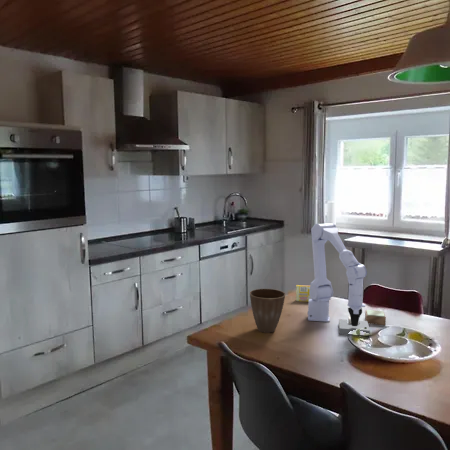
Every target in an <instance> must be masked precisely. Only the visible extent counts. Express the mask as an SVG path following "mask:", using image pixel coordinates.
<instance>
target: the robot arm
mask: <svg viewBox="0 0 450 450" xmlns="http://www.w3.org/2000/svg"><path fill="white" fill-rule="evenodd" d="M310 231H311V233H310V234H311V244H312V245H311V247H312V259H313V271H314V272H313V274H314V279H313V280H312V281H311V282H310V283H309V286H310V290H309V294H310V297H311V298H312V299H309V301H308V303H307V304H308V310H307V321H315V322H325V323H326V322H328V323H330V318H331V317H330V300H331V298H332V297H333V296H334V289H333V286H332V281H331V280H329V279H328V278H327V277H328V276H327V274H328V273H327V263H326V250H325V249H326V248H325V247H326V246H325V244H326V243H327V242H328V241H329V242H330V243H331V245H332V246H333V247H334V248H335V250H336V251H337V252H338V254H339V256H338V259H339V260H340V262H341V264H342V265H343V266H344V268H345V270H346V271H345V275H346V277H347V282H348V294H347V295H348V299H347V312H348V313H349V316H350V317H351V324H352V326H357V325H358V321H360V317H361V316H362V313H363V308H366V304H365V303H363V302H364V301H363V298H364V278H366V277H367V274H368V270H367V268H366V266H365V264H362V263H361V262H359V261H358V260H357V258H356V257H355V255H354V253H353V251H351V250H349V249H347V247H346V246H345V245H344V242H343V241H342V238H341V237H340V235H339V228H338V227H337V226H336V224H335V222H330V223H314V225H313V226H312V227H311V228H310Z"/></svg>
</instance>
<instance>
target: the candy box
mask: <svg viewBox="0 0 450 450" xmlns="http://www.w3.org/2000/svg"><path fill="white" fill-rule="evenodd" d="M295 287H296V288H295V290H296V291H295V292H296V293H295V295H296V297H295V301H296V302H309V299H312V298H311V297H310V294H309V290H310V285H307V284H306V285H301V284H300V285H299V284H296V285H295Z"/></svg>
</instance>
